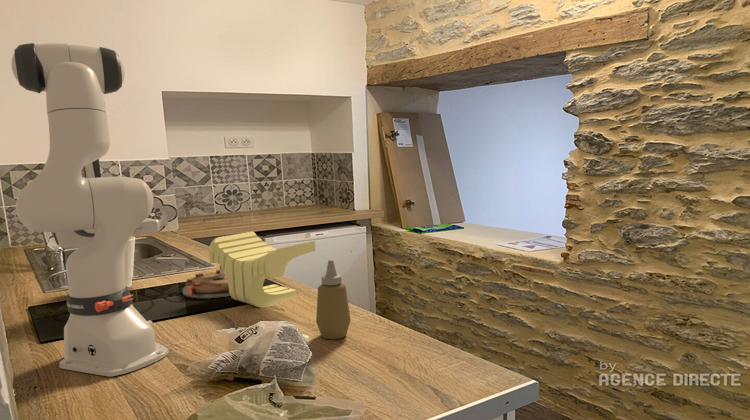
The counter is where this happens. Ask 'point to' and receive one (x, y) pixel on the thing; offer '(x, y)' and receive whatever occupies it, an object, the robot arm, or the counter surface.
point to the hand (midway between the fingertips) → (166, 222)
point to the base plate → (189, 292)
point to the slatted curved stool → (255, 267)
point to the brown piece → (210, 282)
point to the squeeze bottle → (332, 305)
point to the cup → (129, 261)
